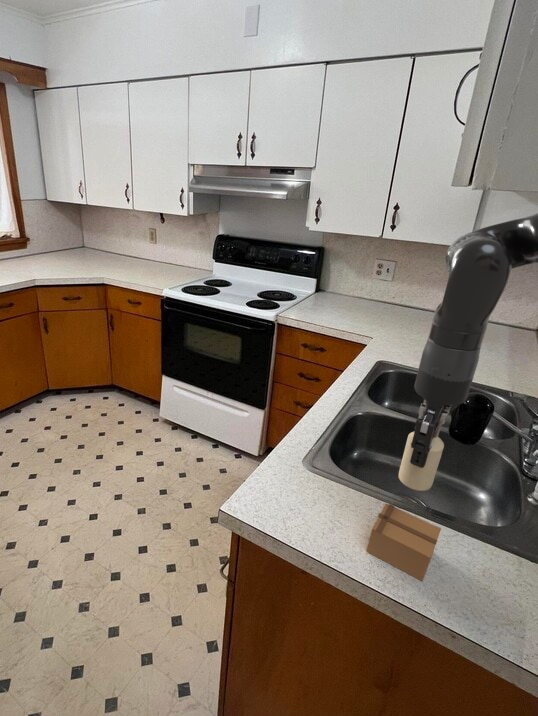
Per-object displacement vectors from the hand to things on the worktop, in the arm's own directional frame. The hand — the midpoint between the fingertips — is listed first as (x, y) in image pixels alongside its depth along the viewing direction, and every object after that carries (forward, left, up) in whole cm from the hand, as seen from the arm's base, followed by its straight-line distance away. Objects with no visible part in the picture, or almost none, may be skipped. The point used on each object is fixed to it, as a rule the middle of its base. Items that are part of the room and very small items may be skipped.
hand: (422, 455), depth 72 cm
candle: (0, 0, -6) cm, 6 cm away
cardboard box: (-1, +2, -21) cm, 21 cm away
